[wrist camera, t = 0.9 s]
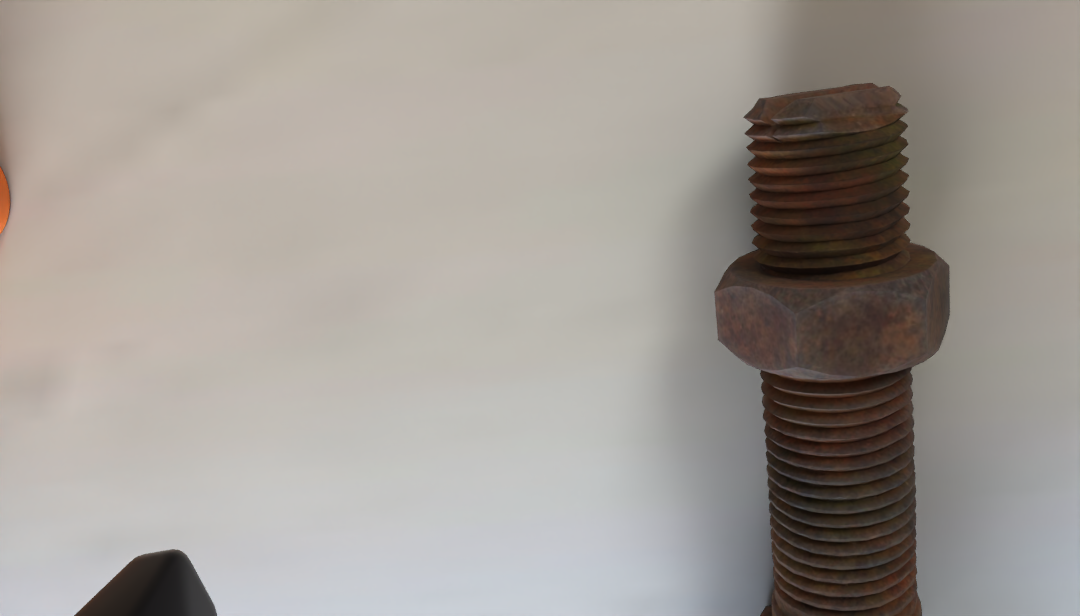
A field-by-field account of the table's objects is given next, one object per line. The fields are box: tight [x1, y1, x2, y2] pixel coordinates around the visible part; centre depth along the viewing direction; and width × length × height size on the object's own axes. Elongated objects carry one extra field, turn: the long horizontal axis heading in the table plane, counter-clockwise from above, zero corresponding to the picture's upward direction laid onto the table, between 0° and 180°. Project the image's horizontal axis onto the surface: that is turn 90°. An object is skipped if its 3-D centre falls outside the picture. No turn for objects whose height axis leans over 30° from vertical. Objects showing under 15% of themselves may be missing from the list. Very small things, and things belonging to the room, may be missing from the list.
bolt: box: [715, 83, 950, 616], centre depth 22 cm, size 6×5×15 cm
